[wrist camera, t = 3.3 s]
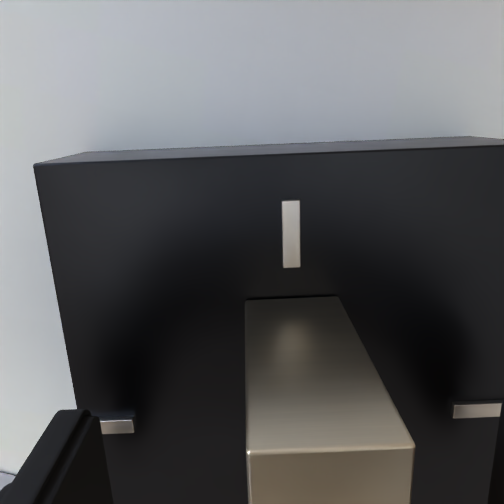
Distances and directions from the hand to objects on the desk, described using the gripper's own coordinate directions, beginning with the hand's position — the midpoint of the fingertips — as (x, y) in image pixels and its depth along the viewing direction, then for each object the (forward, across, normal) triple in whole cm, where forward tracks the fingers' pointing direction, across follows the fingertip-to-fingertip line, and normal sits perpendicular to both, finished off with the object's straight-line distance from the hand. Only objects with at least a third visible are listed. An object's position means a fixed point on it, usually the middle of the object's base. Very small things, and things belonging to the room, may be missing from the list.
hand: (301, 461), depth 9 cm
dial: (+1, 0, 0) cm, 1 cm away
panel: (+4, 0, 0) cm, 4 cm away
